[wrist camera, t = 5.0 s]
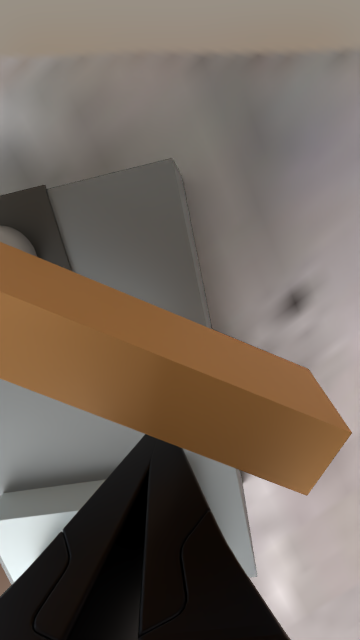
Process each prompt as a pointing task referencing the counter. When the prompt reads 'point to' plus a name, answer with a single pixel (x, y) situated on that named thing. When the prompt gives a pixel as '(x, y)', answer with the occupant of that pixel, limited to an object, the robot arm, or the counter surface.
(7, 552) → the cover
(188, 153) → the counter surface
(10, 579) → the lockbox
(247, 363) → the orange square pillar
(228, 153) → the counter surface
